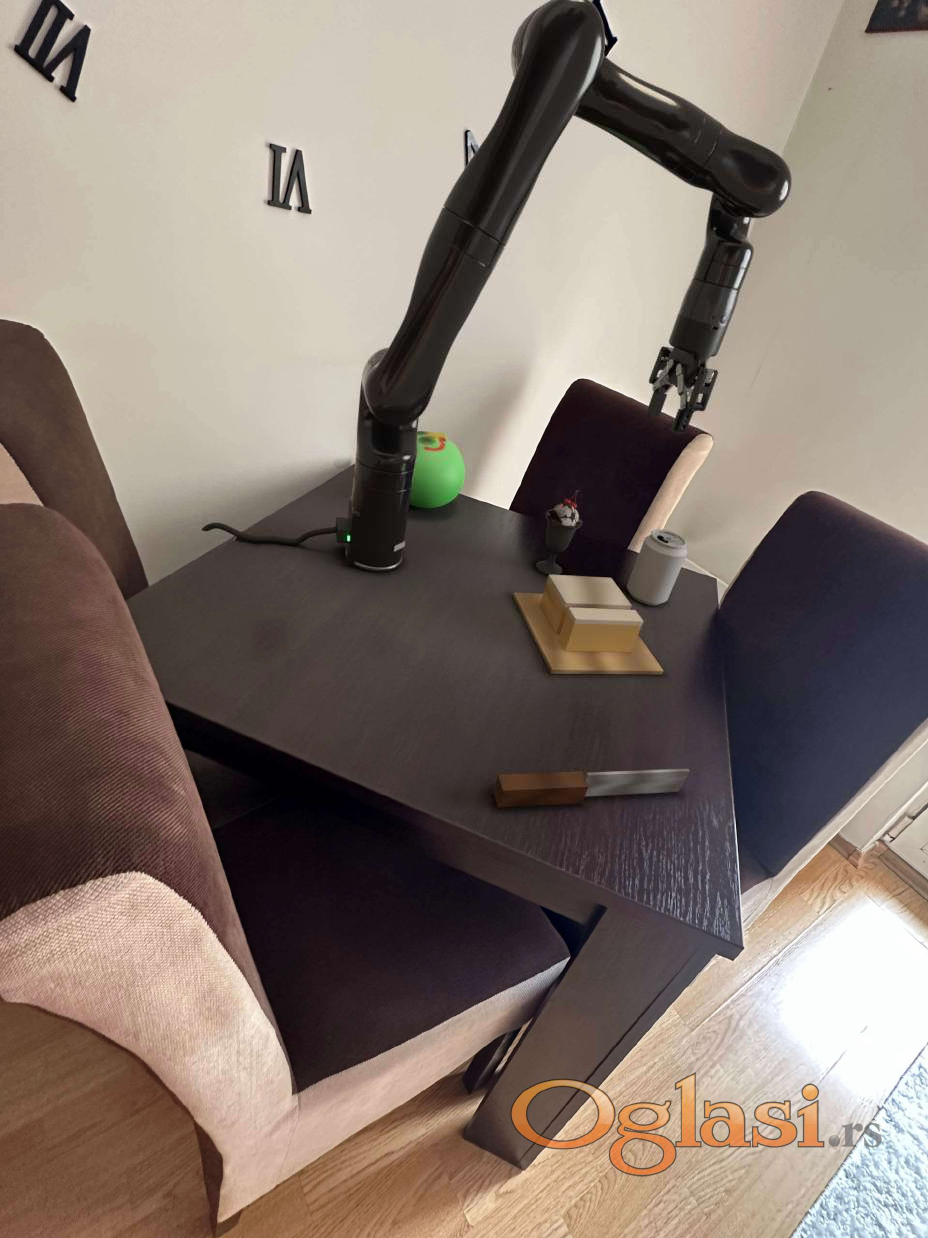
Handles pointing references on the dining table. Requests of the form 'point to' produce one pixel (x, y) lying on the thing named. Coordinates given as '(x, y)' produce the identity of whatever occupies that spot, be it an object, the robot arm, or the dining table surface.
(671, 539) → the can
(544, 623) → the wooden stepped base
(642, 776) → the knife
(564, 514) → the sundae
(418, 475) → the toy bird
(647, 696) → the dining table surface
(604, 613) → the cake slice
